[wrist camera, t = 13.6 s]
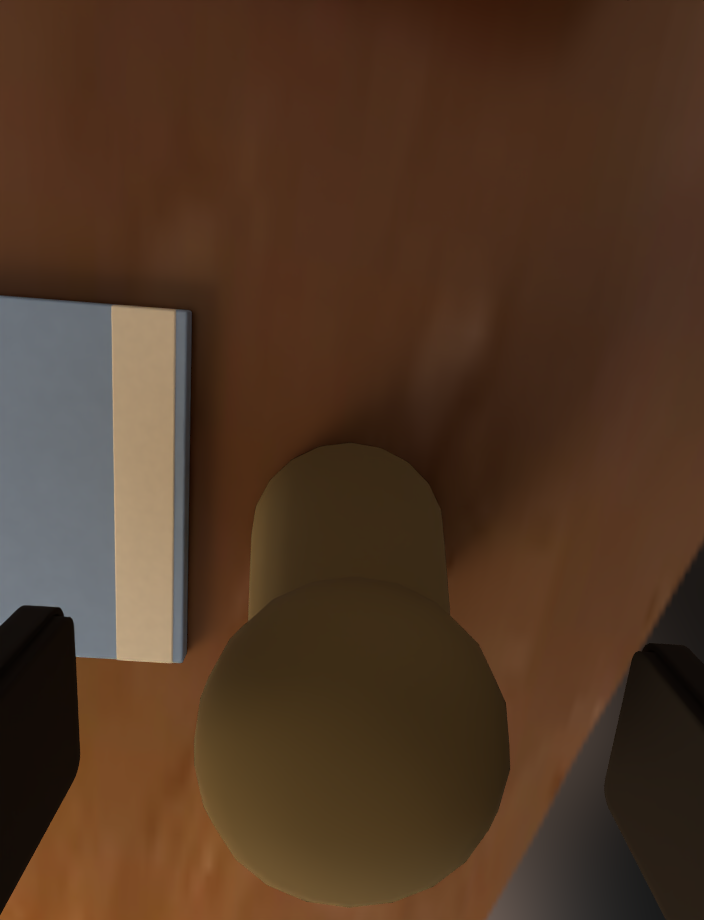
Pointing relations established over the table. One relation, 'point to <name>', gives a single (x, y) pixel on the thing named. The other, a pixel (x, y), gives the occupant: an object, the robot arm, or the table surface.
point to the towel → (97, 471)
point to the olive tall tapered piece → (350, 693)
